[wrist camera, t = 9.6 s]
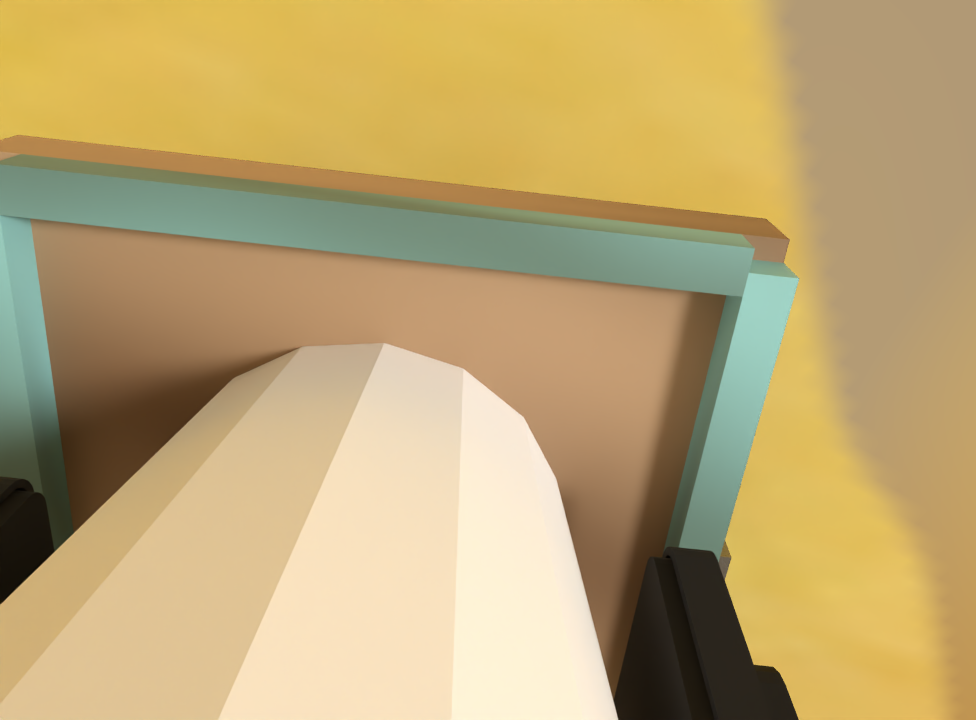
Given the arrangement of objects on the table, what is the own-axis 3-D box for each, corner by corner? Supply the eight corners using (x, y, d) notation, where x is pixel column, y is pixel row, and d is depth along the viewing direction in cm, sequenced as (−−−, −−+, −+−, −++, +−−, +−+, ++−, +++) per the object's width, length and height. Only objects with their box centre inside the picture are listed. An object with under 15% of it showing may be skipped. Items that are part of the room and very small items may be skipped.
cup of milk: (457, 744, 14) (408, 1403, 7) (71, 576, 12) (-401, 1200, 6) (699, 449, 11) (954, 1068, 5) (245, 198, 10) (-259, 580, 3)
